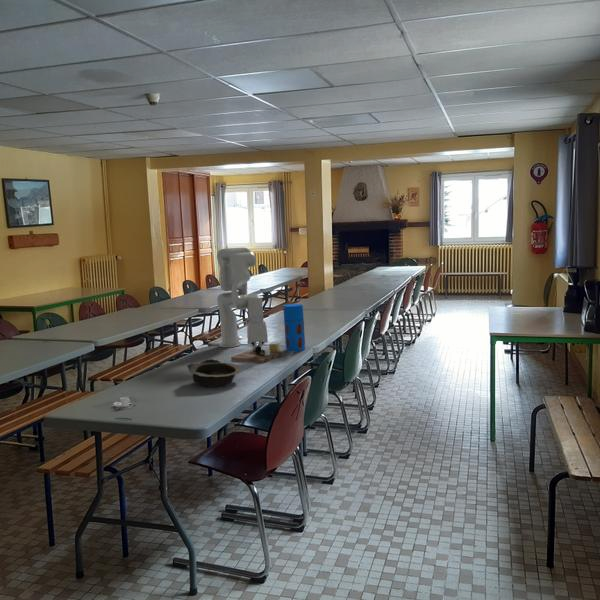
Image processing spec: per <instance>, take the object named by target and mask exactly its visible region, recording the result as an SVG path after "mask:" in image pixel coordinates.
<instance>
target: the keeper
mask: <svg viewBox="0 0 600 600" xmlns="http://www.w3.org/2000/svg"><path fill="white" fill-rule="evenodd" d="M268 344H269V347H268V349H269V350H270V351H271V352H279V351H280V343H273V342H272V343H268Z"/></svg>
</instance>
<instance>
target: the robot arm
mask: <svg viewBox="0 0 600 600" xmlns="http://www.w3.org/2000/svg"><path fill="white" fill-rule="evenodd" d="M216 253H217V254H216V260H217V263H218V266H219V287H220V289H221V291H224V292H222V293H219V294H218V296H217V297H216V301H217V306H218V311H219V321H220V332H221V333H220V334H221V336H220V337H221V343H219V347H220V348H236V347H239V346H241V345H242V343H241V341H240V340H242V339H243V336H239V335H238V334H239V333H238V322H237V321H238V320H237V314H236V312H234V311H233V310H232V309H236V310H240V311H241V310H248V311H247V312H248V317H246V318H245V321H247V327H246V328H247V330H246V331H247V335H246V337H247V342H246V343H247V345H252V347H253V346H255V353H257V355H258V354H259V355H260V353H261V346H262V347H263V346H264V344H266V343H268V342H269V340H268V338H269V337H268V329H267V325H266V321H264V309H263V304H264V303H263V298H262V296H260V295H259V294H256V293H251V294H248V282H249V281H251V273H250V270H249V268H254V267H255V266H256V264H257V259H256V258H257V257H256V255H255V253H254V252H253V251H251V250H250V249H249V248H247V247H227V248H221V249H219V250H218V251H217V252H216ZM257 342H258V344H259V345H258V346H257Z"/></svg>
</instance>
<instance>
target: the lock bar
mask: <svg viewBox="0 0 600 600" xmlns="http://www.w3.org/2000/svg"><path fill="white" fill-rule="evenodd" d="M256 343H257V342H256ZM258 345H259V342H258V343H257V346H258ZM252 349H253V351H255V346H253V345H252ZM260 354H262V355H264V356H268V355H270V348H267V347H264V346H263V345H262V346H261V353H260Z"/></svg>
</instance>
